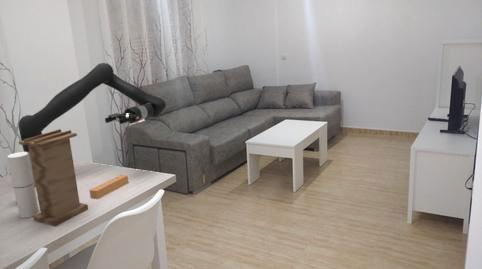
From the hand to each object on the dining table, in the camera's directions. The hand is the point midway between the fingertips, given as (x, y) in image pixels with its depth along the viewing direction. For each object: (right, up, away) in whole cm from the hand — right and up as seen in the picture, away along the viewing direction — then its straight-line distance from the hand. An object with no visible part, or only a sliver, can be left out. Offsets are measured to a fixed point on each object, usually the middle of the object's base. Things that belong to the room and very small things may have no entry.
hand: (112, 121), depth 187 cm
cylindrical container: (-27, -38, -22) cm, 52 cm away
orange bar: (-1, -32, -1) cm, 32 cm away
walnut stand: (-13, -38, -24) cm, 47 cm away
